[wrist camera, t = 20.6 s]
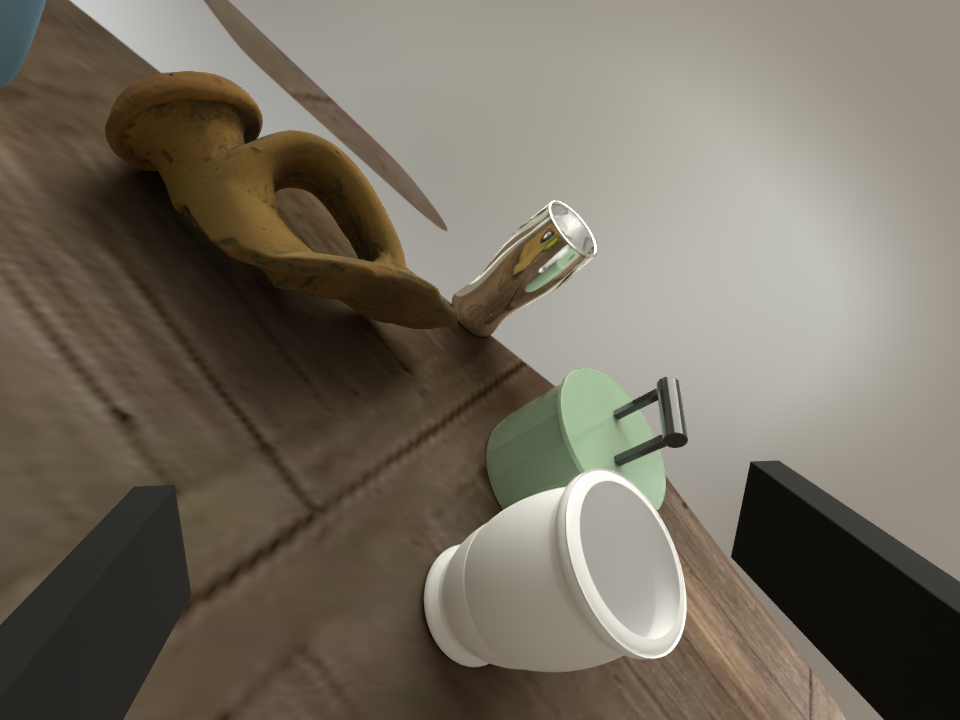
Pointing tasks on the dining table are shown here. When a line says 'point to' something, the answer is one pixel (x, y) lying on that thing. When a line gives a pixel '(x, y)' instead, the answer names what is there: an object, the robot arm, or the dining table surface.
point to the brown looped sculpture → (268, 194)
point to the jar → (561, 582)
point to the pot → (529, 452)
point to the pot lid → (620, 428)
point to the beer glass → (526, 268)
